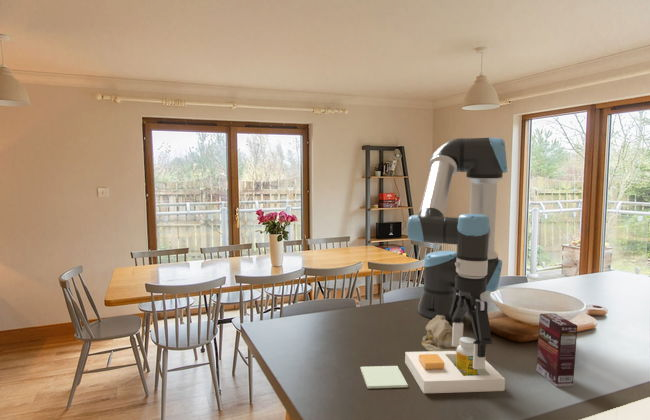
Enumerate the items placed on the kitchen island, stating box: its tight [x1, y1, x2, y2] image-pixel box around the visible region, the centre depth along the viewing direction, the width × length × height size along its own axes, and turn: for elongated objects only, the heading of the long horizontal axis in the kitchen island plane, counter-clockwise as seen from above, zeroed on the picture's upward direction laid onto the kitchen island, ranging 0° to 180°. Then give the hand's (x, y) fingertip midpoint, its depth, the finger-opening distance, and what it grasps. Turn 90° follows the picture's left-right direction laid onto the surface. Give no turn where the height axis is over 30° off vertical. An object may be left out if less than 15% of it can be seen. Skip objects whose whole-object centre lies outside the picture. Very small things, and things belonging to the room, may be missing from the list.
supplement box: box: [535, 312, 578, 388], centre depth 104 cm, size 9×5×16 cm, turn 5°
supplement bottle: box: [455, 336, 478, 376], centre depth 106 cm, size 5×5×10 cm
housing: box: [404, 350, 506, 394], centre depth 106 cm, size 16×20×3 cm
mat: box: [359, 365, 409, 389], centre depth 104 cm, size 10×10×1 cm
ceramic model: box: [421, 315, 457, 351], centre depth 123 cm, size 14×11×10 cm
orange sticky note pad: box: [419, 354, 445, 369], centre depth 105 cm, size 5×5×4 cm
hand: (467, 356), depth 106 cm, fingers open, 12 cm apart
